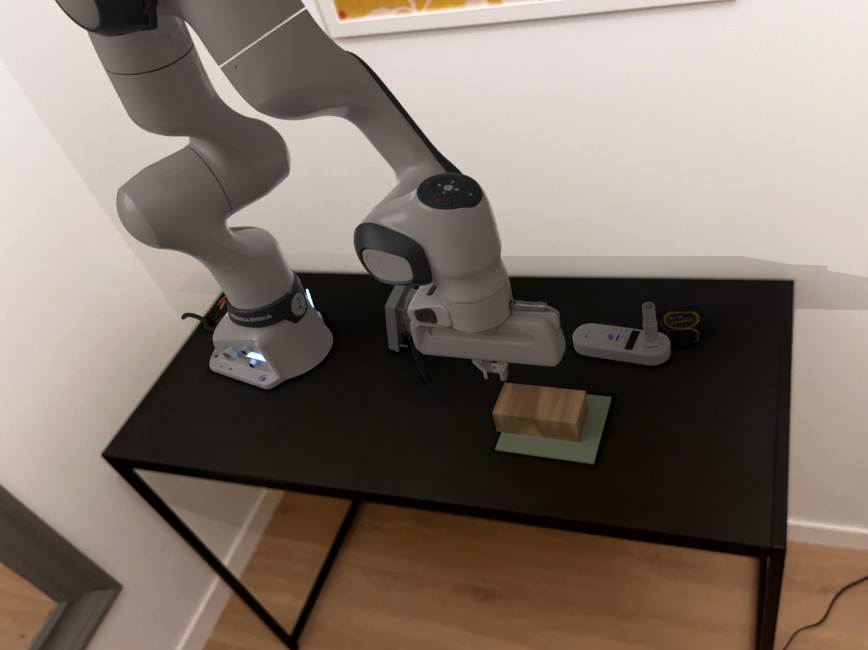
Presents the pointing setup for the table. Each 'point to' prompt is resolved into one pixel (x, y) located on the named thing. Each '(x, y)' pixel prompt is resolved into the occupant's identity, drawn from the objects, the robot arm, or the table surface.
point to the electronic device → (625, 341)
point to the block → (541, 411)
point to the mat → (562, 448)
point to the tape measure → (682, 324)
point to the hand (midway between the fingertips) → (496, 376)
